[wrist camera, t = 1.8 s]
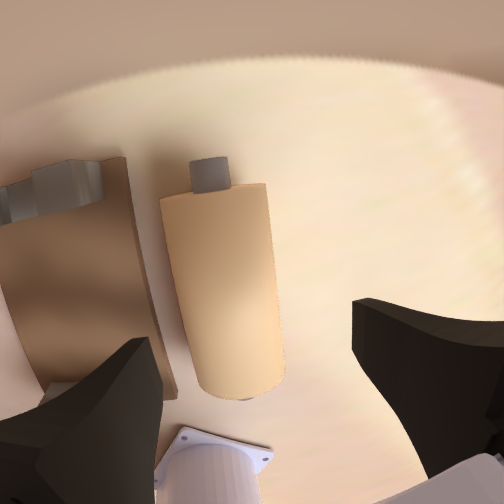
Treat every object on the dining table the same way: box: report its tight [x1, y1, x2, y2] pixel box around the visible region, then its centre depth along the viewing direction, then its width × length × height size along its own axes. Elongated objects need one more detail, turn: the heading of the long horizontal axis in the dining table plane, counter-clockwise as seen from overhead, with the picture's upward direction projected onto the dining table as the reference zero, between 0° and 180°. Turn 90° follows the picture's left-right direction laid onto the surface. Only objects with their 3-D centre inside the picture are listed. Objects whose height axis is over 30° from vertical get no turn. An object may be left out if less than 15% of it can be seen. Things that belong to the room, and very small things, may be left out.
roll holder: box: [0, 157, 178, 406], centre depth 15 cm, size 15×10×5 cm, turn 7°
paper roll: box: [159, 157, 285, 401], centre depth 16 cm, size 13×5×5 cm, turn 7°
